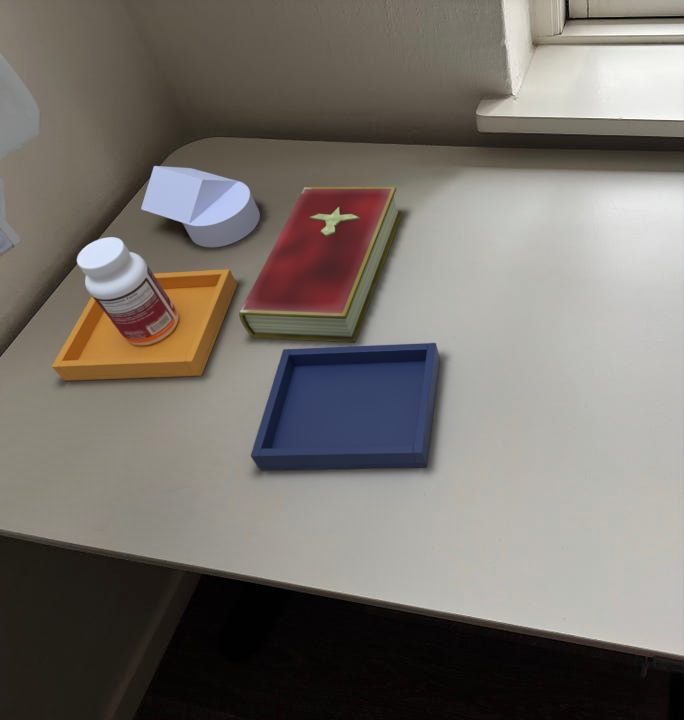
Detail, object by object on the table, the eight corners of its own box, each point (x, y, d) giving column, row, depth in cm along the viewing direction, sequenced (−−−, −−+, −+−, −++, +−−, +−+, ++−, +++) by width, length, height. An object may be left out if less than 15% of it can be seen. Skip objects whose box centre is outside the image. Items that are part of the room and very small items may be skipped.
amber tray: (64, 381, 76) (51, 366, 74) (113, 290, 85) (102, 276, 83) (201, 375, 74) (191, 360, 72) (237, 284, 83) (229, 268, 81)
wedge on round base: (153, 230, 92) (226, 254, 87) (127, 186, 87) (203, 210, 82) (201, 189, 96) (273, 210, 91) (179, 146, 91) (254, 165, 86)
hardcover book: (249, 337, 77) (234, 310, 74) (311, 212, 90) (300, 185, 87) (355, 342, 74) (344, 314, 71) (402, 213, 87) (395, 184, 84)
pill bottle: (132, 310, 81) (79, 235, 73) (185, 303, 81) (138, 227, 73) (118, 351, 77) (60, 277, 69) (173, 344, 77) (122, 268, 69)
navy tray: (259, 470, 66) (250, 456, 64) (290, 364, 74) (283, 349, 72) (426, 467, 63) (421, 452, 62) (440, 358, 72) (436, 342, 70)
